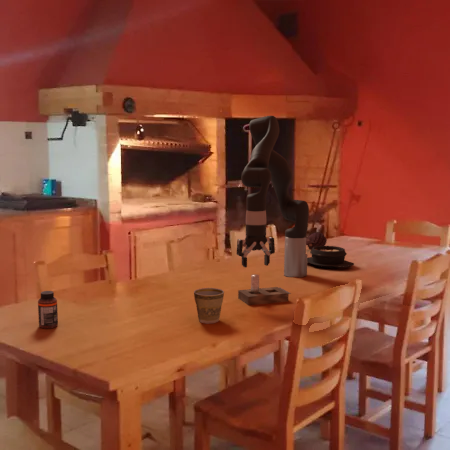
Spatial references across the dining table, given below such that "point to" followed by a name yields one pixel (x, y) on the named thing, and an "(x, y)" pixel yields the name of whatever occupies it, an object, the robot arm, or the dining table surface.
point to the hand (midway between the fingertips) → (255, 266)
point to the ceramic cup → (208, 304)
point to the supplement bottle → (47, 310)
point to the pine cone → (316, 240)
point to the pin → (254, 284)
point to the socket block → (263, 296)
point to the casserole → (328, 257)
